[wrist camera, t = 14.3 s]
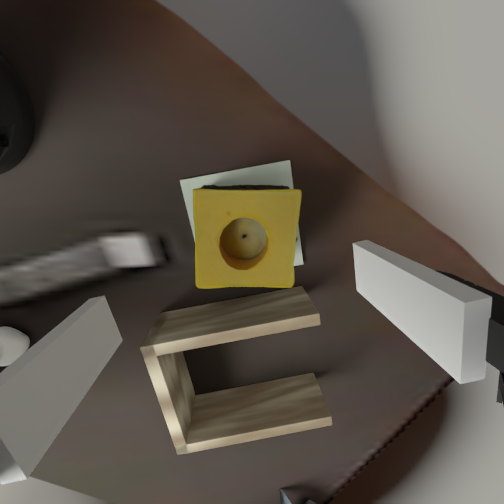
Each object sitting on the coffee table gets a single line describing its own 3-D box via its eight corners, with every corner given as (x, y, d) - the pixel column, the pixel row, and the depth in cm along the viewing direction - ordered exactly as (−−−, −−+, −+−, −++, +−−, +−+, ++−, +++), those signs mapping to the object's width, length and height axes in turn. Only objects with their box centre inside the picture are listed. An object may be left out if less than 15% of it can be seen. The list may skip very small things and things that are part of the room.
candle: (284, 185, 32) (305, 185, 23) (280, 260, 35) (297, 289, 25) (204, 183, 32) (190, 183, 22) (206, 260, 34) (195, 290, 25)
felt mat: (180, 180, 32) (179, 180, 31) (288, 160, 32) (289, 159, 32) (205, 281, 36) (205, 282, 35) (302, 263, 36) (303, 264, 35)
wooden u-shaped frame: (160, 312, 37) (139, 347, 29) (301, 285, 37) (319, 313, 29) (188, 404, 41) (177, 455, 34) (314, 380, 41) (332, 424, 34)
